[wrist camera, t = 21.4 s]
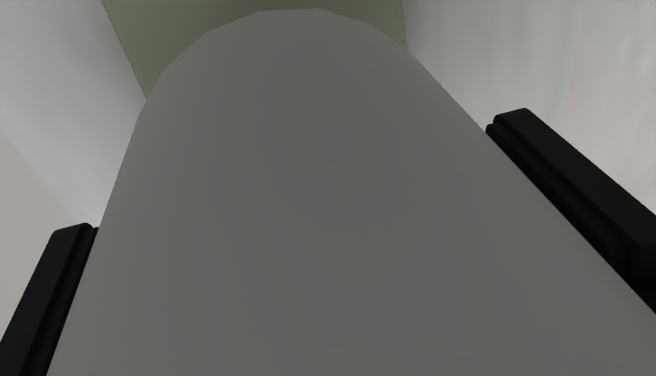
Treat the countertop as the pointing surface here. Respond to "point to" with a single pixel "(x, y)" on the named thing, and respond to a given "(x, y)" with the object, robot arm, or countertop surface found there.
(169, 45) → the mat
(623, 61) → the countertop surface
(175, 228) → the can
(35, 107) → the countertop surface
